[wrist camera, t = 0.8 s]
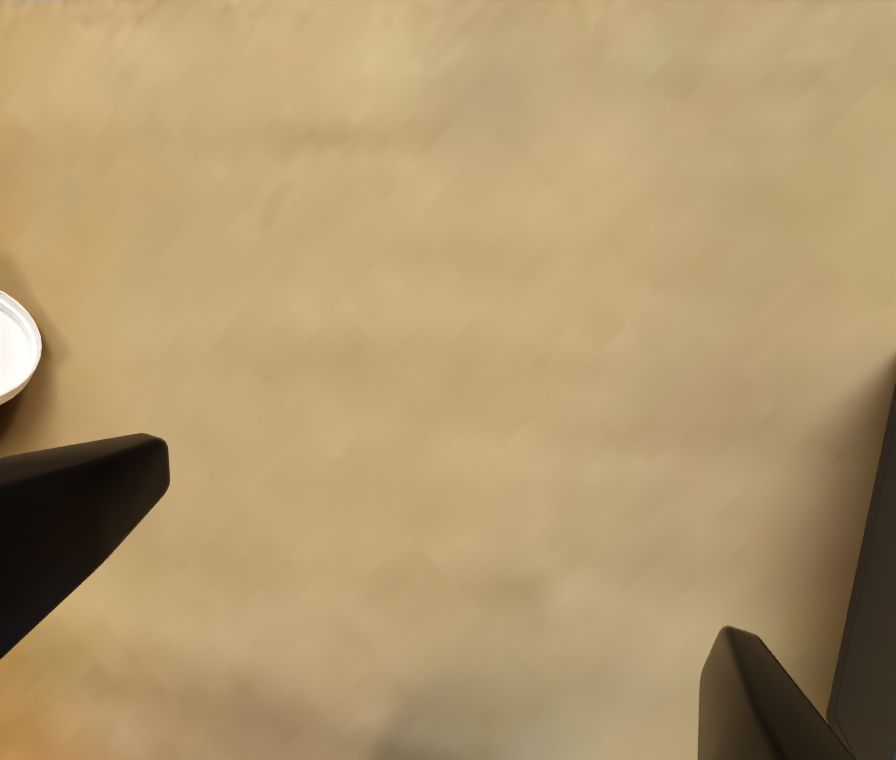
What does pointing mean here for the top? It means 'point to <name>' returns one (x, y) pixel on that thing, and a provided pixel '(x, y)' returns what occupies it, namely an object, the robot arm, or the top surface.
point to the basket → (871, 628)
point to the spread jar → (16, 347)
